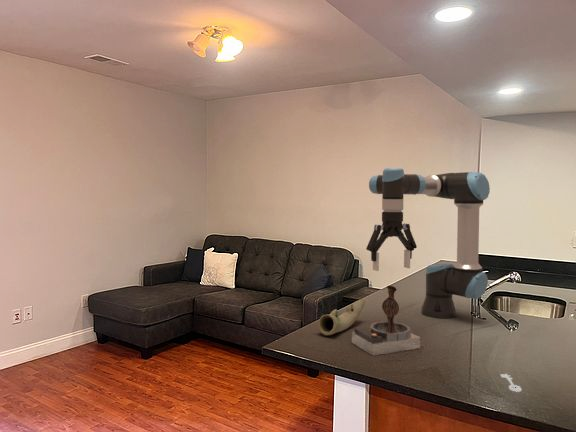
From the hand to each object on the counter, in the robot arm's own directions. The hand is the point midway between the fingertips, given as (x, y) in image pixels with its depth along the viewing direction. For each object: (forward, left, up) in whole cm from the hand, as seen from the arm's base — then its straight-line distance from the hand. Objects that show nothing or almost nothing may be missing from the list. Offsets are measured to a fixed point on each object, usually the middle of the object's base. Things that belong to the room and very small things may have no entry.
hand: (391, 269), depth 160 cm
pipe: (+7, -23, -28) cm, 37 cm away
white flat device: (+2, 0, -28) cm, 28 cm away
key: (-14, +40, -29) cm, 52 cm away
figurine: (0, 0, -24) cm, 24 cm away
